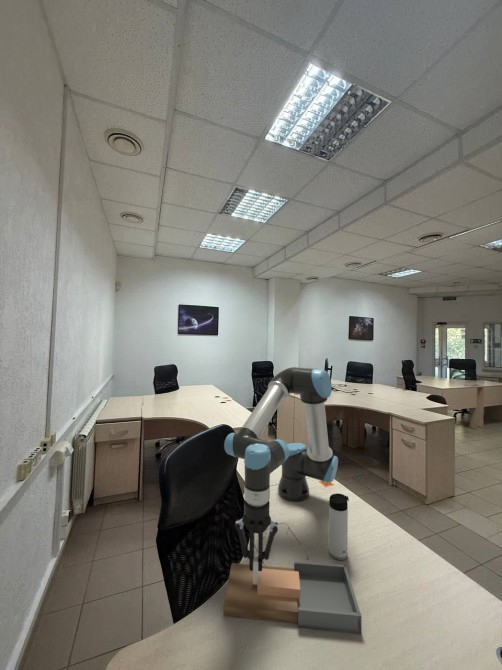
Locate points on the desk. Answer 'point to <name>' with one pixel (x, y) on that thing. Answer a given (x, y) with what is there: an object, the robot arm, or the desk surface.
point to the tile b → (289, 584)
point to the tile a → (268, 582)
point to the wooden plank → (256, 598)
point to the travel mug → (338, 526)
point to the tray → (327, 598)
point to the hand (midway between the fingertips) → (255, 580)
